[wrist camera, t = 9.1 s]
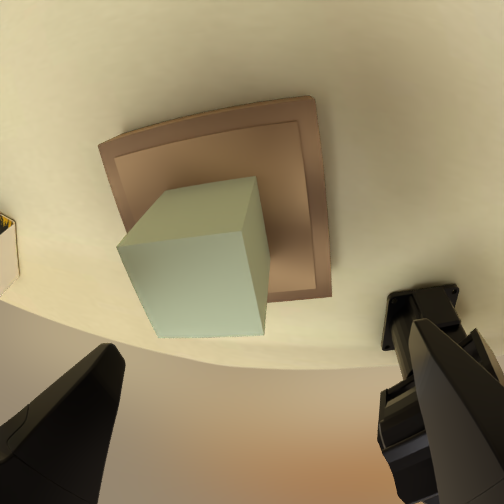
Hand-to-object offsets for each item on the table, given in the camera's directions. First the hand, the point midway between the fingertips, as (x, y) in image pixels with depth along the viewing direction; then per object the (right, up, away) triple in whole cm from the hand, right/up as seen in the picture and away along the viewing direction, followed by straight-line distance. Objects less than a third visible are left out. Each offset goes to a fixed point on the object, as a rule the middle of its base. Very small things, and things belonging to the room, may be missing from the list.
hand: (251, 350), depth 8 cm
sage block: (-2, +4, +9) cm, 10 cm away
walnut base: (-2, +6, +12) cm, 13 cm away
